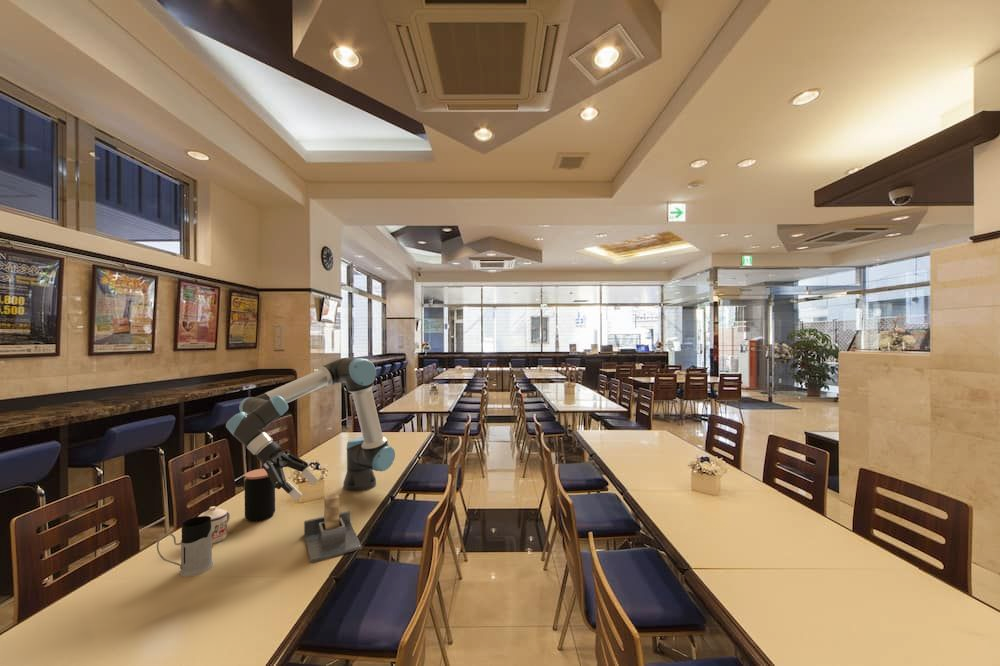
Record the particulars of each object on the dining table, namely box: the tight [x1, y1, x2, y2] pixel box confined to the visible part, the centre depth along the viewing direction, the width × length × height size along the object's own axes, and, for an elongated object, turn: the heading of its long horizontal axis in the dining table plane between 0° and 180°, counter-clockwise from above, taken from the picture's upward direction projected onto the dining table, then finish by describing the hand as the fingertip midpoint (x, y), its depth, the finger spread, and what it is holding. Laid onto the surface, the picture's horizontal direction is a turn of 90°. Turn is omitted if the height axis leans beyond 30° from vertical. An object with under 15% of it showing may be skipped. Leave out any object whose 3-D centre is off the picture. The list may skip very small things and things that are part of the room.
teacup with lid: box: [197, 505, 230, 545], centre depth 149 cm, size 12×9×12 cm
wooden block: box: [323, 493, 340, 530], centre depth 145 cm, size 4×4×15 cm
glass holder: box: [156, 516, 215, 578], centre depth 127 cm, size 9×14×15 cm, turn 141°
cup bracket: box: [303, 510, 363, 564], centre depth 145 cm, size 16×22×6 cm
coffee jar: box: [244, 468, 276, 523], centre depth 165 cm, size 11×11×18 cm
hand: (308, 489), depth 145 cm, fingers open, 13 cm apart
